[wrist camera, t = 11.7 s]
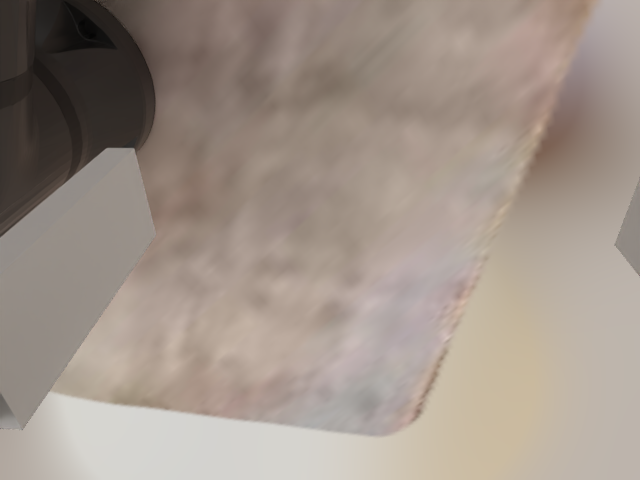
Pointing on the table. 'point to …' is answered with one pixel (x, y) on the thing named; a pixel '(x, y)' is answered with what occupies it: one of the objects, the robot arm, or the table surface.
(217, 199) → the table surface
